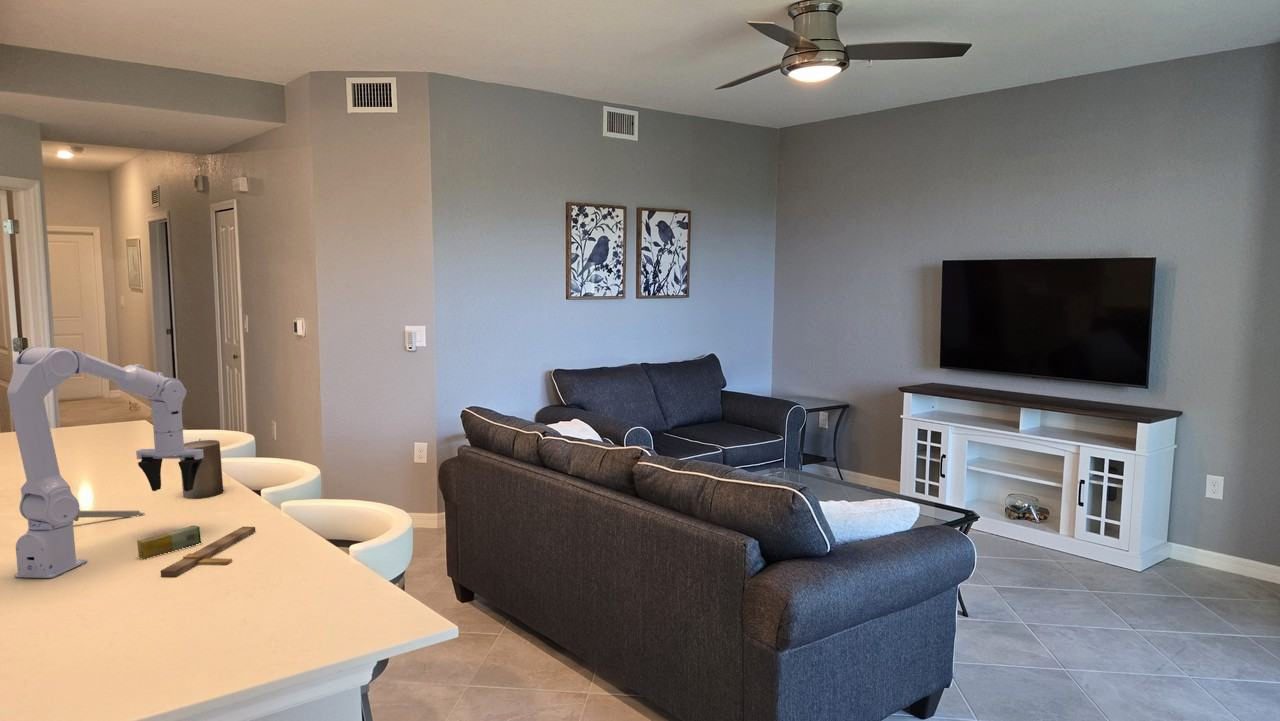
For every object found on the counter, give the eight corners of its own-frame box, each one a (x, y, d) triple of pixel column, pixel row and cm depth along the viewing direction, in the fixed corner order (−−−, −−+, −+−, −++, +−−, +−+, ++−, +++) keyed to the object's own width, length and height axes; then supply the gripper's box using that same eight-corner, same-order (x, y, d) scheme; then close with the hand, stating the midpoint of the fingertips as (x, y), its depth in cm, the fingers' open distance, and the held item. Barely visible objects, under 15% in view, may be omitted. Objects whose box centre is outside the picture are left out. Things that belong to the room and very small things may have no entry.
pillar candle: (231, 489, 226) (227, 435, 224) (209, 499, 216) (204, 442, 215) (197, 489, 227) (193, 435, 225) (174, 499, 217) (169, 442, 216)
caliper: (43, 533, 190) (40, 506, 189) (42, 532, 191) (40, 505, 190) (145, 515, 203) (143, 490, 202) (145, 514, 204) (143, 489, 203)
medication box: (195, 542, 182) (194, 524, 181) (202, 544, 180) (200, 526, 180) (137, 558, 172) (135, 539, 171) (144, 560, 170) (142, 541, 170)
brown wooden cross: (205, 577, 160) (204, 570, 159) (160, 576, 160) (159, 569, 160) (280, 532, 187) (280, 525, 187) (242, 531, 188) (242, 525, 188)
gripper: (209, 427, 190) (213, 485, 191) (149, 427, 191) (153, 485, 192) (190, 433, 183) (195, 493, 184) (128, 433, 184) (132, 493, 185)
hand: (172, 490), depth 188 cm, fingers open, 7 cm apart
